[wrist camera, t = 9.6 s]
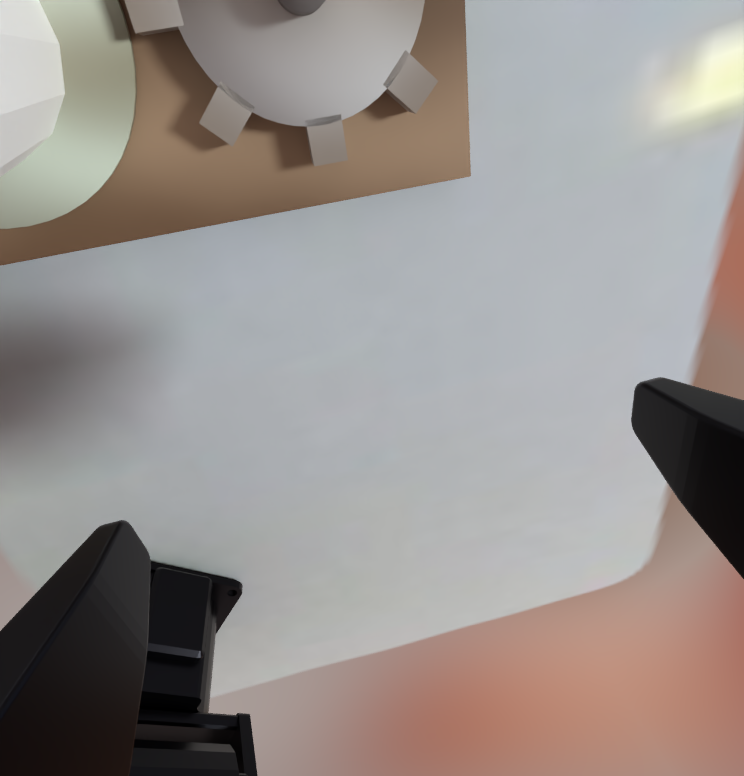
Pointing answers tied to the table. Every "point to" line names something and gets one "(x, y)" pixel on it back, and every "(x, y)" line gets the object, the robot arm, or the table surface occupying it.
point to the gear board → (235, 115)
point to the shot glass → (27, 80)
